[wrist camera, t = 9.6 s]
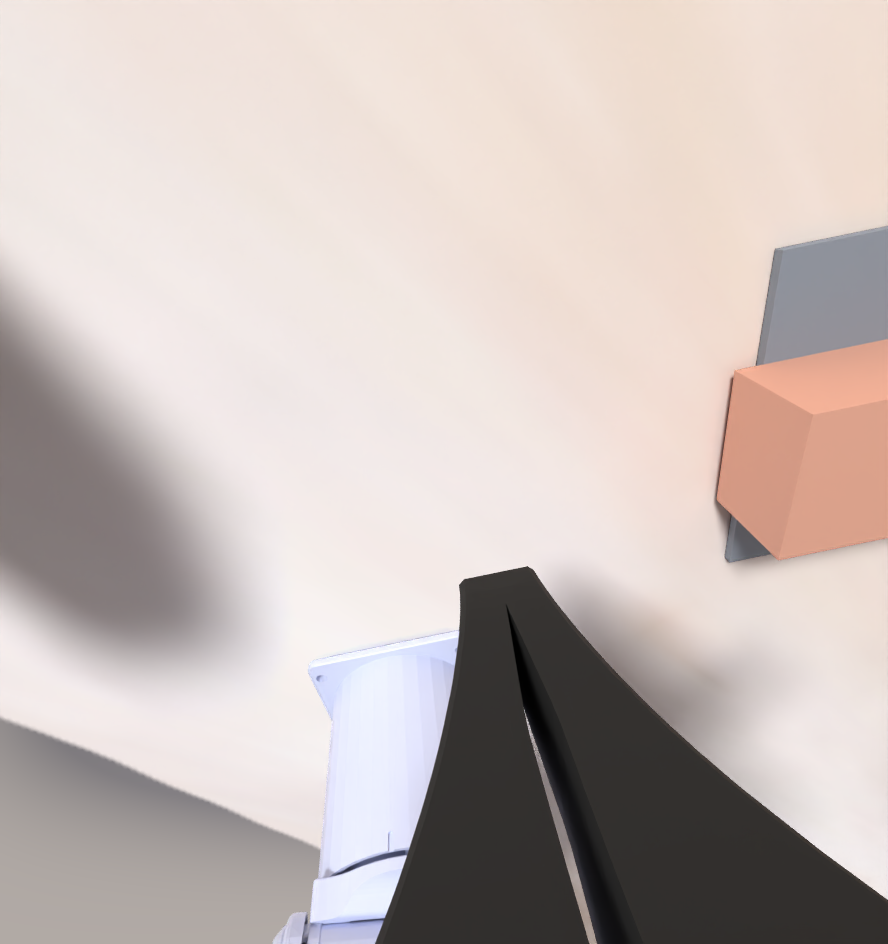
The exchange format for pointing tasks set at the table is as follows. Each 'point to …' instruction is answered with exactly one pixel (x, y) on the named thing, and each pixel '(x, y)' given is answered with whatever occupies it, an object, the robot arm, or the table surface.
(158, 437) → the table surface
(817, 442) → the block
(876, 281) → the mat
